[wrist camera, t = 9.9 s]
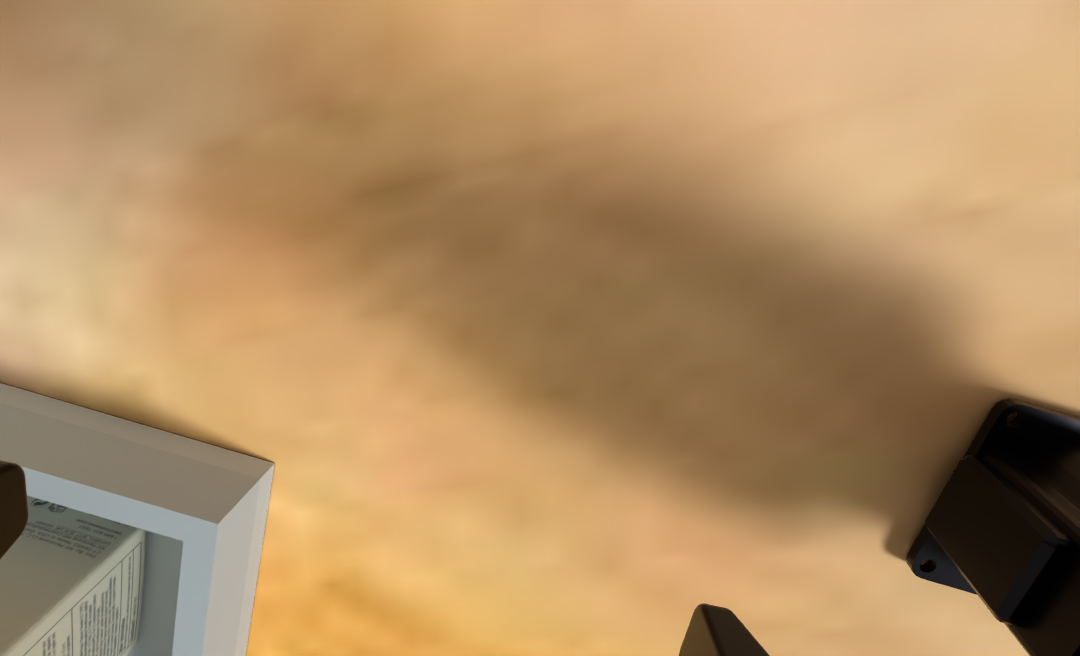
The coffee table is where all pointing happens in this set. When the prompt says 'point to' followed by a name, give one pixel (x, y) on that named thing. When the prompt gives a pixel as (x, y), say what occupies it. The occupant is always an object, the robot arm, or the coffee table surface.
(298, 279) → the coffee table surface
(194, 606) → the seat tray
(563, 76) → the coffee table surface
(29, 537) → the skincare box
